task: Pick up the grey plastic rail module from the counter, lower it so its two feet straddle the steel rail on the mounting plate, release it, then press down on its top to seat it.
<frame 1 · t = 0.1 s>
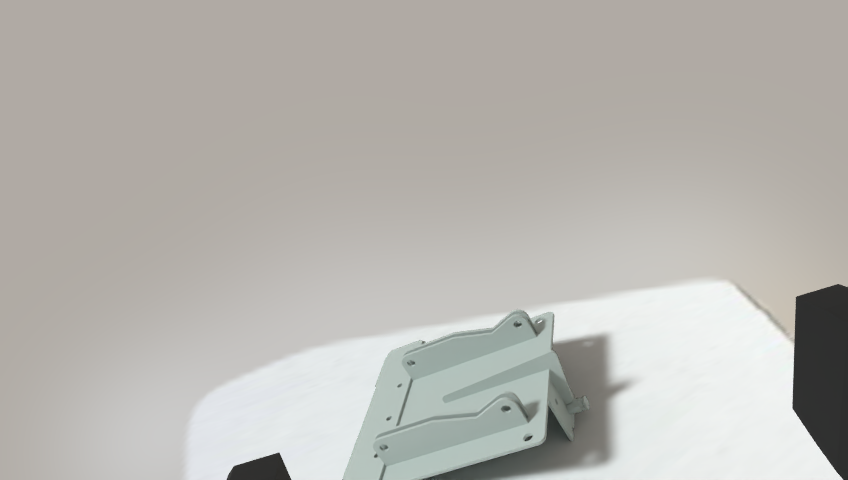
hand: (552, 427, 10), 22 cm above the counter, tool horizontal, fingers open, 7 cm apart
metal bracket: (464, 433, 44), on the counter
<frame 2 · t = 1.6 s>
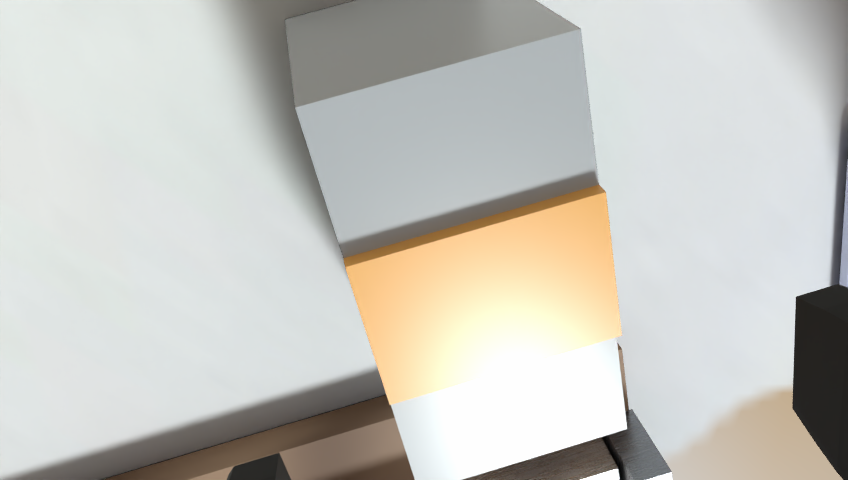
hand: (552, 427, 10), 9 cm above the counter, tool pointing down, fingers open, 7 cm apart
rail module: (425, 164, 19), on the counter
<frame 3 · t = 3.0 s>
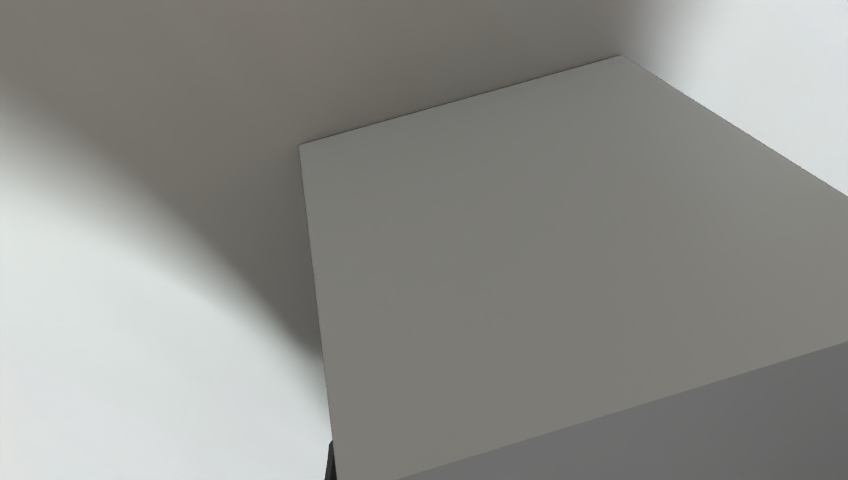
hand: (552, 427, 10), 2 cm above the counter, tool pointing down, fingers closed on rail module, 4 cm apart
rail module: (512, 345, 12), on the counter, touching gripper
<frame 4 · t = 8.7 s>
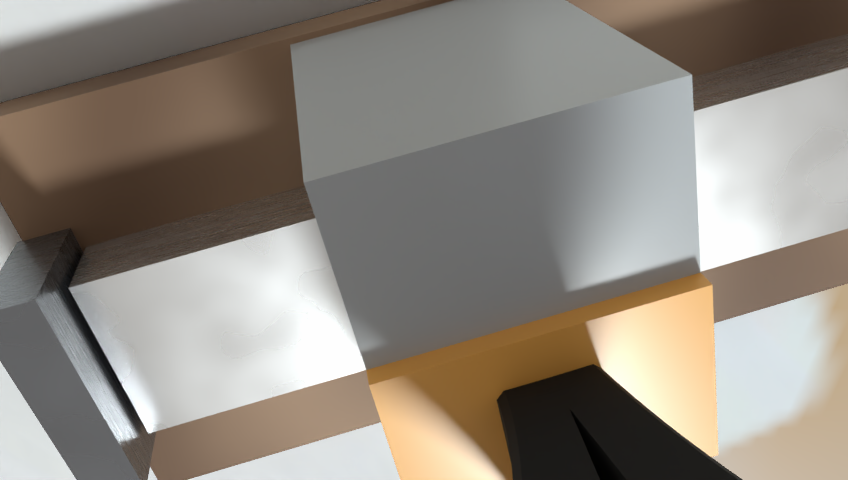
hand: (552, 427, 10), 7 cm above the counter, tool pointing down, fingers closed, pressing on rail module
rail module: (456, 213, 16), point 1 cm above the counter, touching gripper, mounting plate
din rail: (523, 239, 15), on the mounting plate, point 2 cm above the counter
mounting plate: (493, 190, 17), on the counter
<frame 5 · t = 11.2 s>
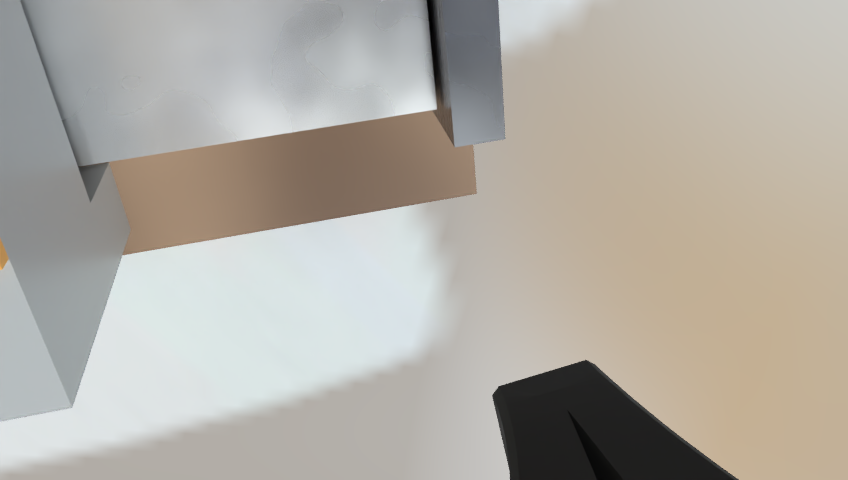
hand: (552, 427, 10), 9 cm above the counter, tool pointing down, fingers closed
mounting plate: (23, 50, 16), on the counter
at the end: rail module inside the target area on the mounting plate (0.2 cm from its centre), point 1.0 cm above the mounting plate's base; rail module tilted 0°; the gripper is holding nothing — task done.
